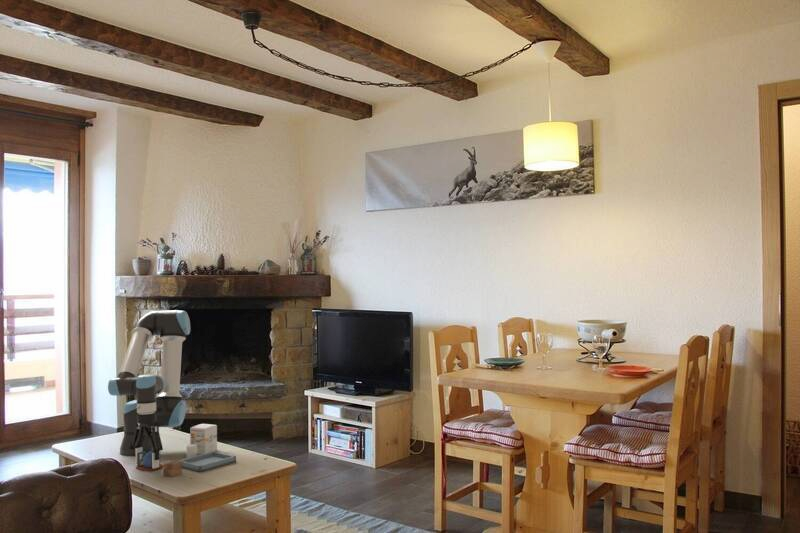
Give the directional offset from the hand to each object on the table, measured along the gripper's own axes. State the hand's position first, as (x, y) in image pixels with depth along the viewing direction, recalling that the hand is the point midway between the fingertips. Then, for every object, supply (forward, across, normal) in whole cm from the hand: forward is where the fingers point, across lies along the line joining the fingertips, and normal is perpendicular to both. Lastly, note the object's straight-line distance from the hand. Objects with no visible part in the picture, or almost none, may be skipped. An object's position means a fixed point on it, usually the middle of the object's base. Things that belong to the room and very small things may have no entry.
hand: (147, 465), depth 271 cm
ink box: (+1, -2, +29) cm, 29 cm away
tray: (+1, +17, +17) cm, 24 cm away
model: (+1, 0, +1) cm, 2 cm away
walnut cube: (+1, +18, 0) cm, 18 cm away
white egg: (+1, +5, +18) cm, 19 cm away
